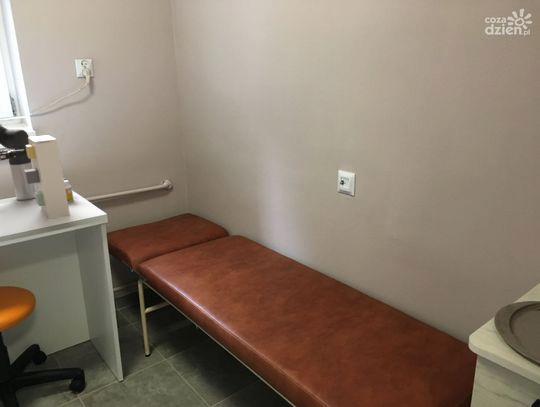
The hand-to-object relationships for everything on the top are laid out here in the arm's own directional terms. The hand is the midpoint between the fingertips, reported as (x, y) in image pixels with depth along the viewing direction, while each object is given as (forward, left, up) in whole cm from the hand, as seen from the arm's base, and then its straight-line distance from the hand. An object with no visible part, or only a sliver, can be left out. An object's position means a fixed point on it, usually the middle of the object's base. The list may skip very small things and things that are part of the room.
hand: (25, 152), depth 178 cm
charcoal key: (0, +2, -13) cm, 13 cm away
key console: (0, +7, -27) cm, 28 cm away
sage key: (0, +4, -22) cm, 23 cm away
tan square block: (0, +4, -2) cm, 5 cm away
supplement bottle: (-15, +15, -27) cm, 35 cm away
